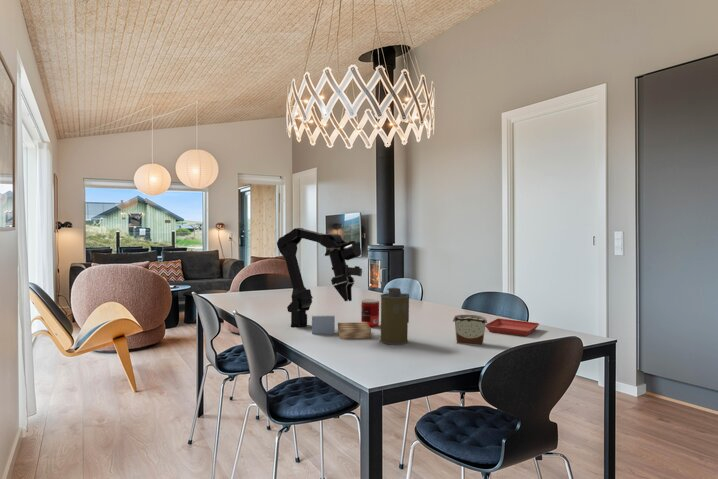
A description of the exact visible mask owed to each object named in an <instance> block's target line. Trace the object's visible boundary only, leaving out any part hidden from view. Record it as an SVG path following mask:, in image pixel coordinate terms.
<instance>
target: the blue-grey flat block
mask: <svg viewBox="0 0 718 479" xmlns="http://www.w3.org/2000/svg"><path fill="white" fill-rule="evenodd" d="M335 317H336V316H335V315H311V334H312V335H331V334H332V335H334V334H335V331H336V330H335V328H336V327H335V324H336V323H335Z"/></svg>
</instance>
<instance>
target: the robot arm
mask: <svg viewBox="0 0 718 479" xmlns="http://www.w3.org/2000/svg"><path fill="white" fill-rule="evenodd" d="M302 239H304V240H307V241H312V242H315V243H318V244H320V245H321V246H322V247H324V248H326V249H327V250H326V252H325V253H324V257H329V259H330V263H331V271H333V275H334V276H333V277H331V279H330V282H331V285H333V288H335V290H336V292H338V294H339V295H340V297H341V298H342V299H343V301H344V302H352V300H353V298H352V296H353V295H352V294H353V291H352V288H353V286H354V285H355V278H354V277H352V276H358V277H362V273H363V268H361V267H360V266H358V265H357V266H356V265H355V266H354V267H351V266H349V265H348V264H347V262H346V261H350V260H353V259H355V258H358V257H360V256H361V255H362V251H361V248H360V246H359V245H358V243H356V240H350V241H348V242H346V240H344V239H343V238H342V236H341V235H340V234H339V233H338V234H337V233H321V232H319V231H313V230H309V229H306V228H302V227H295V228H293V229H292V230H291V231H290V232H287V233H286V234H284V235H283V236H281V237H279V238H278V240H277V241H276V245H277V248H278V251H279V253H280V254H281V255H282V257H283V258H284V260H285V263H286V269H287V272H288V276H289V279H290V283H291V286H292V293H291V302H290V303H289V305H288V306H287V307H286V308H287V312H288V313H290V318H291V319H290V327H292V328H293V327H294V328H295V327H297V328H298V327H299V328H300V327H302V328H303V327H307V325H308V313H307V311H309V310H310V307H311V305H312V303H313V298H314V297H313V296H312V292H311V289H310V288H308V289H307V287H305V285H304V282H303V280H304V279H303V277H302V273H301V269H300V266H299V262H298V258H297V252H298V244H300V243H301V241H302Z"/></svg>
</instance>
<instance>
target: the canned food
mask: <svg viewBox="0 0 718 479" xmlns="http://www.w3.org/2000/svg"><path fill="white" fill-rule="evenodd" d="M360 306H361V307H360V308H361V312H360V313H361V319H360V320H361V322H367V324H369V326H370V328H376V327H379V324H380V300H379V299H375V298H371V299H370V298H365V299H364V298H363V299H362V300H361V304H360Z"/></svg>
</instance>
